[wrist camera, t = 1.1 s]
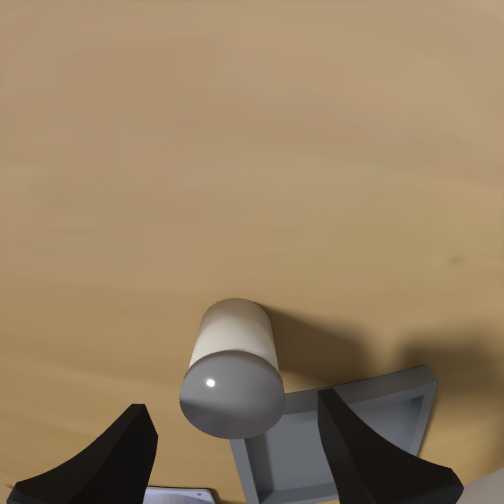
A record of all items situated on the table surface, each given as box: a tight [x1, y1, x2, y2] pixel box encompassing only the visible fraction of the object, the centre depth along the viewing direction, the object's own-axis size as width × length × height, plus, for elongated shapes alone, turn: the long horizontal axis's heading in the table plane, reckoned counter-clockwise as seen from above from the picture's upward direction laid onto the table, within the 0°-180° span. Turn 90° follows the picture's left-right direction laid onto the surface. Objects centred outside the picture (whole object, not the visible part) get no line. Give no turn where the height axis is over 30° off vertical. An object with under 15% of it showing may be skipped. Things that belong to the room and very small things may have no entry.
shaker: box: [180, 298, 286, 439], centre depth 16 cm, size 5×5×7 cm
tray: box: [229, 365, 438, 504], centre depth 22 cm, size 15×13×2 cm
